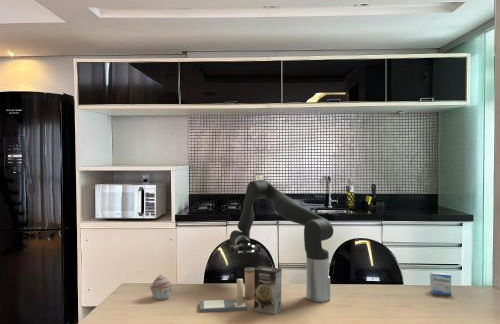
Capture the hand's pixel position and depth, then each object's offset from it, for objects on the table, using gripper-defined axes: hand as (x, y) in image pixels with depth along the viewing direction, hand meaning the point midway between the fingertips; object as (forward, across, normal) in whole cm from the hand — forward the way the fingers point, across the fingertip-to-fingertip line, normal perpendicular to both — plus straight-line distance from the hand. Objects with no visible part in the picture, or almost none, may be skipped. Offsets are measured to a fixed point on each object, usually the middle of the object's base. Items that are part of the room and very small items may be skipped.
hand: (246, 252), depth 179 cm
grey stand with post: (+21, -12, +17) cm, 30 cm away
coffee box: (+27, +5, +17) cm, 32 cm away
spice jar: (+11, 0, +17) cm, 20 cm away
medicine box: (+15, +84, +16) cm, 87 cm away
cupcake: (+8, -37, +17) cm, 41 cm away
